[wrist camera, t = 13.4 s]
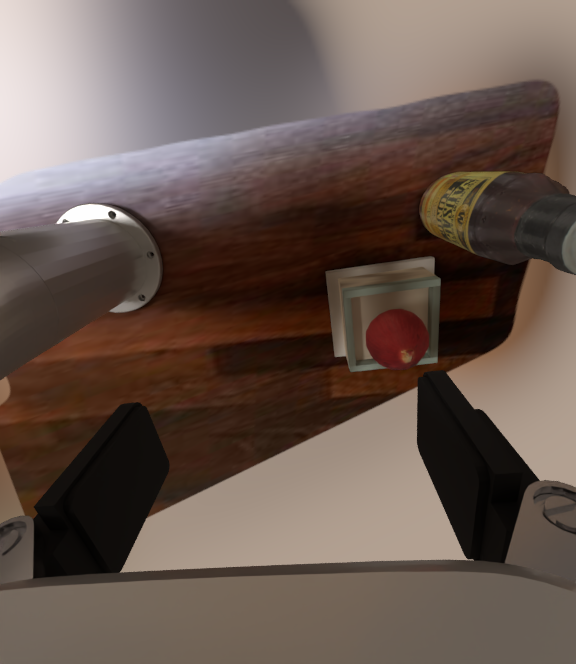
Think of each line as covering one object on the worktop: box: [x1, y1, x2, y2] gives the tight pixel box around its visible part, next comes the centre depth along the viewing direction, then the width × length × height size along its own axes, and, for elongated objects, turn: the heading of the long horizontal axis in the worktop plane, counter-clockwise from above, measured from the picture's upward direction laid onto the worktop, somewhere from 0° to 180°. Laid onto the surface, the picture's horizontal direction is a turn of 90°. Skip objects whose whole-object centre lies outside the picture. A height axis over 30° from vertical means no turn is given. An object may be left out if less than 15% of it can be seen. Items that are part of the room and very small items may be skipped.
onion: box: [366, 309, 429, 370], centre depth 30 cm, size 6×6×8 cm
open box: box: [325, 256, 441, 372], centre depth 36 cm, size 12×11×6 cm
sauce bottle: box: [419, 172, 576, 275], centre depth 25 cm, size 7×6×20 cm
